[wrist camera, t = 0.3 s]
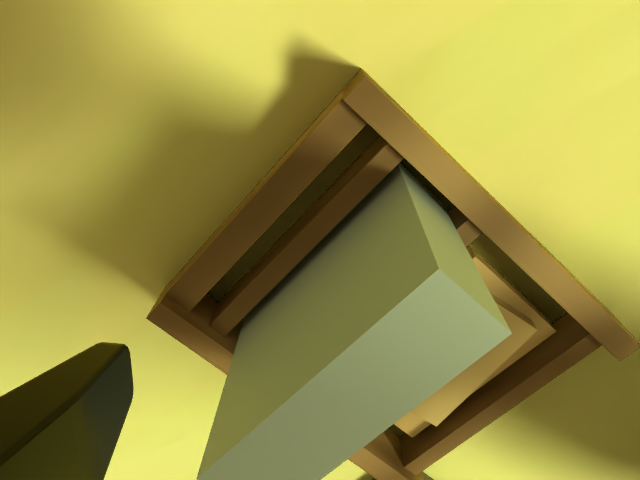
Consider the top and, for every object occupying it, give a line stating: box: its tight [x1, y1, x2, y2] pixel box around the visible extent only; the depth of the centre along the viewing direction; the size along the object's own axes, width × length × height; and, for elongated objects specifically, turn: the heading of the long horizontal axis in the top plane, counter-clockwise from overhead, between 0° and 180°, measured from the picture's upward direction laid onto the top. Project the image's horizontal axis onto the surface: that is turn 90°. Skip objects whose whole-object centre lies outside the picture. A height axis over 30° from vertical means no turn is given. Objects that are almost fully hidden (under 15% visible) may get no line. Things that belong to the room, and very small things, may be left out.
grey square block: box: [197, 163, 512, 480], centre depth 18 cm, size 3×9×9 cm, turn 138°
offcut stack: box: [394, 246, 556, 438], centre depth 22 cm, size 5×8×2 cm, turn 138°
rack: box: [147, 69, 640, 480], centre depth 21 cm, size 15×12×2 cm
